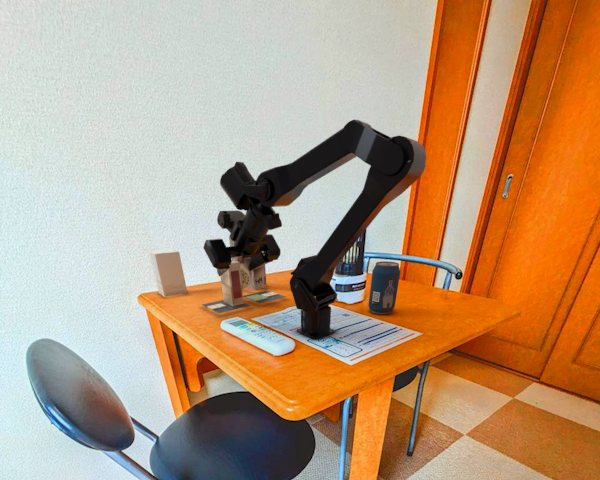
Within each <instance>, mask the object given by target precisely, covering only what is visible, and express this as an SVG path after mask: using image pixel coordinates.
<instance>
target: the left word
mask: <svg viewBox="0 0 600 480" xmlns="http://www.w3.org/2000/svg"><path fill="white" fill-rule="evenodd" d="M201 306H203V307H205V308H207V309H209V310H211V311H213V312H216V313H218V314H221V313H226V312H230V311H234V310H238V309H239V310H240V309H242V308H246V307H251V306H252V305H251V304H250V303H249V304H248V303H246V302H244V304H241V305H237V306H231V305H229V304H227V303H224V299H221V300H217V301H212V302H207V303H202V304H201Z"/></svg>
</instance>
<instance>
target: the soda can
mask: <svg viewBox="0 0 600 480" xmlns="http://www.w3.org/2000/svg"><path fill="white" fill-rule="evenodd" d="M371 272H372V273H371V280H370V289H369V297H368V304H367V306H368V309H369V311H370V312H371V313H373V314H378V315H387V314H388V315H389V314H391V313H392V312H393V310H395V307H396V301H397V294H398V289H399V283H400V276H401V269H400V263H399V262H395V261H377V262H375V266H373V269H372V271H371Z"/></svg>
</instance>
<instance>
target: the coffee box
mask: <svg viewBox="0 0 600 480" xmlns="http://www.w3.org/2000/svg"><path fill="white" fill-rule="evenodd" d="M228 241H229V247H232V246H234V241H232V240H231V238H230V237H229V236H228ZM251 258H252V257H249V258H243V257H237V258H231V260H233V261H237V262H239V263H240V273H241V283H242V289H245V290H246V289H247V290H251V291H258V290H261V289H263V288H266V287H267V273H266V264H265V265H263V266H260V267H258V268H256V269H254V270H252V271H249V270H248V266H249V263H250V260H251Z"/></svg>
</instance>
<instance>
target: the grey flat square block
mask: <svg viewBox="0 0 600 480" xmlns="http://www.w3.org/2000/svg"><path fill="white" fill-rule="evenodd" d="M244 298H245V299H247V300H250V301H252V302H255V303H258V304H263V303H268V302H272V301H276V300H281V299H284V298H287V296H286V295H283V294H280V293H277V292H273V291H270V290H263V291H258V292H253V293H248V294H245V295H244V294H243V299H244Z"/></svg>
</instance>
